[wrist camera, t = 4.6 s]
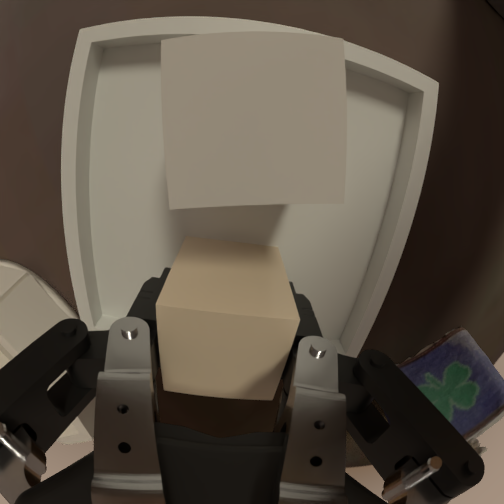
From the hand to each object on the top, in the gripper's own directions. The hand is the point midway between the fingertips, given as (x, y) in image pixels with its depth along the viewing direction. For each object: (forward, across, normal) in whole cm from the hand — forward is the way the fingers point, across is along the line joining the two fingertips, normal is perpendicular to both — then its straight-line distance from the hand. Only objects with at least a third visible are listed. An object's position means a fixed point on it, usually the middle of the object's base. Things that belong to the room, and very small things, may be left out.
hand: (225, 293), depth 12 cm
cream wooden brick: (+1, 0, 0) cm, 1 cm away
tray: (+2, 0, -4) cm, 4 cm away
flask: (+2, -16, +6) cm, 17 cm away
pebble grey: (+1, 0, -7) cm, 7 cm away
